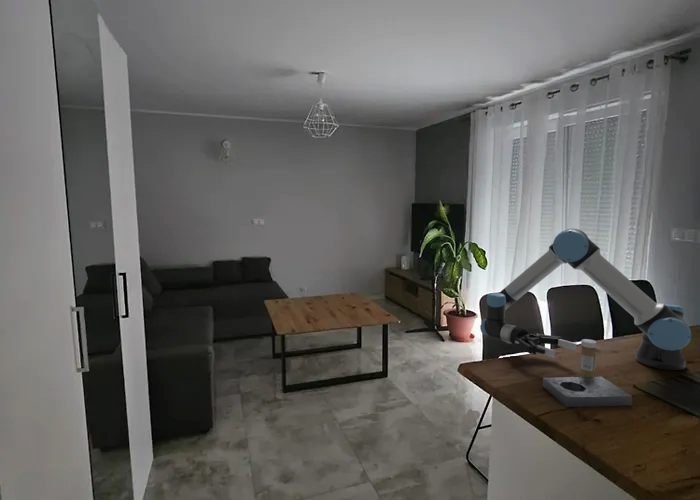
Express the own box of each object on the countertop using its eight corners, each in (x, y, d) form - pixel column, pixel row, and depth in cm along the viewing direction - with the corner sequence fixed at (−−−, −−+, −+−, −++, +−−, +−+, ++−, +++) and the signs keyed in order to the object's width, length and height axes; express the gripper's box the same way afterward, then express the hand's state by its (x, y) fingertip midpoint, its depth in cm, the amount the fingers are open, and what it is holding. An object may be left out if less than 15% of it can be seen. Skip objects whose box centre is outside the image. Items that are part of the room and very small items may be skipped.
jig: (601, 385, 132) (601, 376, 132) (631, 405, 118) (632, 396, 118) (542, 386, 132) (542, 377, 131) (566, 406, 118) (566, 397, 118)
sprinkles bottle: (597, 378, 137) (599, 341, 136) (590, 381, 135) (592, 343, 134) (583, 373, 141) (585, 337, 140) (576, 376, 139) (578, 340, 137)
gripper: (532, 338, 169) (583, 353, 151) (494, 349, 156) (544, 367, 138) (533, 321, 168) (584, 335, 150) (495, 331, 155) (545, 347, 137)
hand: (565, 350), depth 144 cm, fingers open, 13 cm apart
